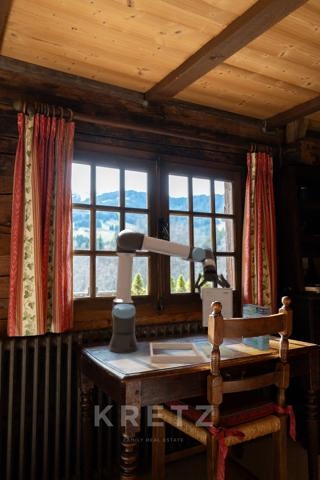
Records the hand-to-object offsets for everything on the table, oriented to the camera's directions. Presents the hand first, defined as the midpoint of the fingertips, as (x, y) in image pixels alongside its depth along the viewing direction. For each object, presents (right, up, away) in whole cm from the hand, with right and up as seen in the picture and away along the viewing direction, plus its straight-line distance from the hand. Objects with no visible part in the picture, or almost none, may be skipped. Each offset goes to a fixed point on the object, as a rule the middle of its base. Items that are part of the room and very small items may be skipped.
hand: (214, 297), depth 194 cm
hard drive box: (+1, -15, -4) cm, 15 cm away
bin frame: (-22, -27, -11) cm, 37 cm away
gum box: (+25, -30, +10) cm, 40 cm away
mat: (+1, -28, -4) cm, 28 cm away
